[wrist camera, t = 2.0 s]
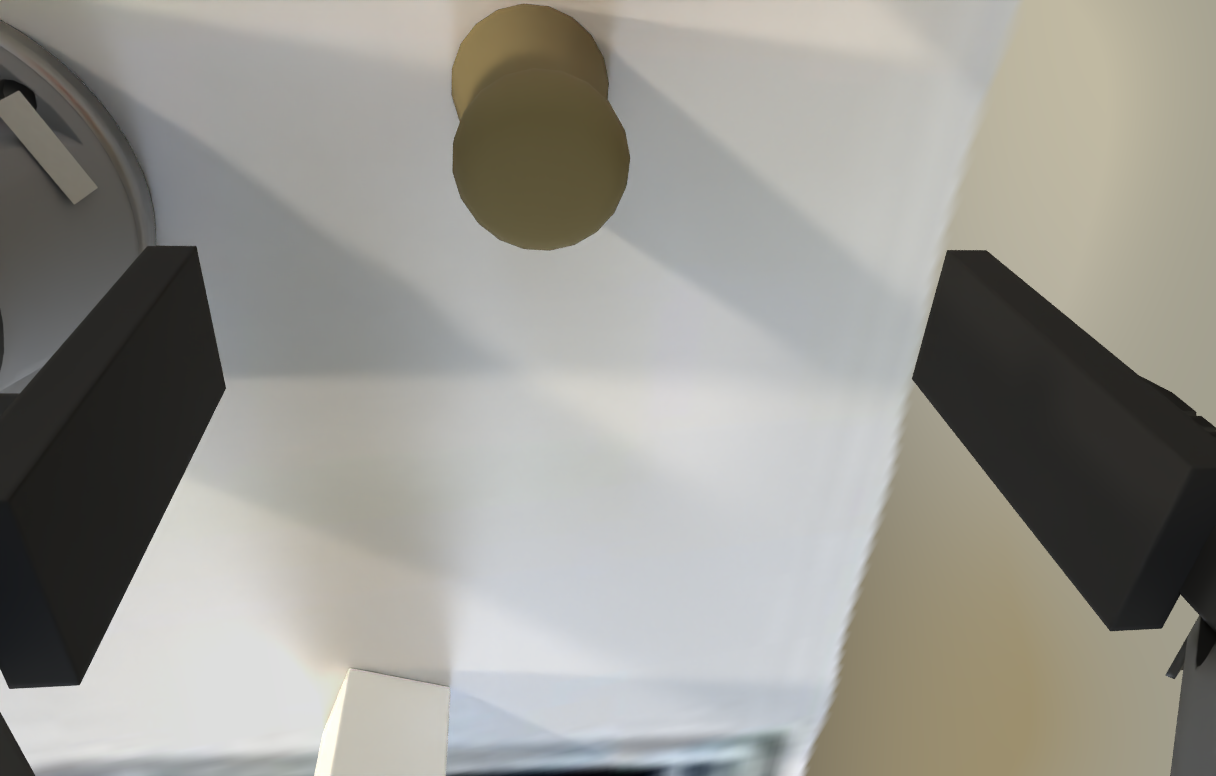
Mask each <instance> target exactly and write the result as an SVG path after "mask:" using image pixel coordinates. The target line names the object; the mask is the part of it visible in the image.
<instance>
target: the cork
mask: <svg viewBox="0 0 1216 776" xmlns="http://www.w3.org/2000/svg"><path fill="white" fill-rule="evenodd" d="M608 85H609V82H608V77H607V72H606V67H605V62H604V58H603V56H602V54H601V52H600V50H599V49H598V47H597V45H596V43H595V41H594V39H593V38H592V36H591V35H590V34H589V33H588V32H587V31H586V30H585V29H584V28H583V27H582V26H581V25H580V24H579V23H578V22H577V21H576V20H575V19H573V18H572V17H570V16H568V15H566V14H564V13H562V12H560V11H557V10H555V9H553V8H551V7H549V6H540V5H530V4H520V5H516V6H512V7H508V8H503V9H499V10H497V11H495V12H494V13H492V14H491V15H489V16H488V17H486V18H485V19H483V20H482V21H480V22H478V23H477V24H476V25H475V26H474V28H473V29H472V30H471V31H470V33H469V34H468V35H467V37H466V38H465V39H464V40H463V42H462V43H461V44H460V47H459V50H458V53H457V56H456V59H455V62H454V65H453V68H452V97H453V101H454V104H455V107H456V111H457V114H458V118H459V120H460V123H459V126H458V129H457V132H456V135H455V137H454V142H453V175H454V178H455V181H456V184H457V188H458V191H459V194H460V197H461V199H462V201H463V202H464V203H465V205H466V206H467V208H468V209H469V211H470V212H471V213H472V215H473V216H474V218H475V219H476V220H477V222H478V223H479V224H480V225H481V226H482V227H484V228H485V229H486V230H488V231H489V232H490V233H491V234H493V235H494V236H495V237H497V238H498V239H499V240H501V241H504V242H507V243H509V244H512V245H515V246H518V247H520V248H523V249H533V250H554V249H558V248H563V247H567V246H571V245H575V244H577V243H578V242H580V241H582V240H583V239H585V238H587V237H589V236H590V235H592V234H594V233H595V232H597V231H598V230H599V229H600V228H601V227H602V225H603V224H604V223H605V222H606V221H607V220H608V219H609V218H610V217H611V216H612V215H613V214H614V212H615V210H616V208H617V205H618V203H619V201H620V199H621V197H622V195H623V193H624V190H625V188H626V185H627V179H628V171H629V163H630V154H629V149H628V144H627V139H626V134H625V130H624V128H623V126H622V124H621V122H620V121H619V119H618V117H617V115H616V114H615V112H614V110H613V108H612V106H611V105H610V103H609V101H608V100H607V98H608Z"/></svg>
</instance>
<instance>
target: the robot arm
mask: <svg viewBox="0 0 1216 776" xmlns="http://www.w3.org/2000/svg"><path fill="white" fill-rule="evenodd" d="M912 380H913V381H914V382H915V383H916V385H917V386H918V387H919V388H920V390H921V391H922V392H923V393H924V395H925V396H926V397H927V399H928V400H929V401H930V402H931V404H932V405H933V406H934V408H935V409H936V410H937V411H938V413H939V414H940V415H941V416H942V418H943V419H944V420H945V422H946V423H947V424H948V425H949V427H950V428H951V429H952V430H953V432H954V433H955V434H956V436H957V437H958V438H959V439H960V441H961V442H962V443H963V444H964V446H965V447H966V448H967V449H968V451H969V452H970V453H971V455H972V456H973V457H974V458H975V459H976V461H977V462H978V464H979V465H980V466H981V467H982V469H983V470H984V471H985V472H986V474H987V475H988V476H989V478H990V479H991V480H992V481H993V483H994V484H995V485H996V486H997V488H998V489H999V490H1000V492H1001V493H1002V494H1003V495H1004V497H1005V498H1006V499H1007V500H1008V502H1009V503H1010V504H1011V505H1012V507H1013V508H1014V509H1015V511H1016V512H1017V513H1018V514H1019V516H1020V517H1021V518H1022V519H1023V521H1024V522H1025V523H1026V525H1027V526H1028V527H1029V528H1030V530H1031V531H1032V532H1033V534H1034V535H1035V536H1036V537H1037V539H1038V540H1039V541H1040V542H1041V544H1042V545H1043V546H1044V548H1045V549H1046V550H1047V551H1048V553H1049V554H1050V555H1051V556H1052V558H1053V559H1054V560H1055V561H1056V563H1057V564H1058V565H1059V567H1060V568H1061V569H1062V570H1063V572H1064V573H1065V574H1066V576H1067V577H1068V578H1069V579H1070V581H1071V582H1072V583H1073V584H1074V586H1075V587H1076V588H1077V590H1078V591H1079V592H1080V593H1081V594H1082V596H1083V597H1084V598H1085V600H1086V601H1087V602H1088V604H1089V605H1090V606H1091V607H1092V609H1093V610H1094V611H1095V612H1096V614H1097V615H1098V616H1099V617H1100V619H1101V620H1102V621H1103V623H1104V624H1105V625H1106V626H1107V628H1108V629H1109V630H1110V631H1120V630H1121V631H1123V630H1141V629H1161V628H1162V627H1163V625H1164V623H1165V621H1166V620H1167V618H1168V616H1169V614H1170V612H1171V611H1172V609H1173V607H1174V605H1175V603H1176V601H1177V600H1178V598H1179V596H1180V594H1181V595H1182V596H1183V597H1184V598H1185V600H1186V601H1187V602H1188V603H1189V604H1190V605H1191V606H1192V607H1193V608H1194V610H1195V611H1196V612H1198V614H1199V617H1198V619H1197V621H1196V622H1195V624H1194V626H1193V628H1192V629H1191V631H1190V633H1189V635H1188V636H1187V638H1186V640H1185V642H1184V643H1183V645H1182V647H1181V649H1180V651H1179V652H1178V654H1177V656H1176V658H1175V659H1174V661H1173V663H1172V665H1171V666H1170V668H1169V670H1168V672H1167V673H1166V676H1168V677H1170V678H1173V679H1175V678H1176V676H1177V675H1178V673H1179V672H1180V670H1183V677H1182V685H1181V694H1180V701H1179V711H1178V718H1177V726H1176V734H1175V742H1174V750H1173V759H1172V767H1171V775H1170V776H1216V427H1214V426H1213V425H1212V424H1211V423H1209V422H1208V421H1207V420H1206V419H1204V418H1203V417H1202V416H1196V412H1195V411H1194V410H1193V409H1192V408H1191V407H1189V406H1188V405H1187V404H1186V403H1184V402H1183V401H1182V400H1181V399H1180V398H1178V397H1177V396H1176V395H1175V394H1173V393H1172V392H1170V391H1168V390H1166V389H1164V388H1162V387H1160V386H1158V385H1156V384H1155V383H1153V382H1151V381H1149V380H1147V379H1145V378H1143V377H1141V376H1139V375H1137V374H1136V373H1135V372H1134V371H1133V370H1131V369H1130V368H1129V367H1128V366H1126V365H1125V364H1124V363H1123V362H1122V361H1121V360H1119V359H1118V358H1117V357H1115V356H1114V355H1113V354H1112V353H1111V352H1110V351H1108V350H1107V349H1106V348H1105V347H1103V346H1102V345H1101V344H1099V343H1098V342H1097V341H1096V340H1095V339H1094V338H1092V337H1091V336H1090V335H1089V334H1088V333H1086V332H1085V331H1084V330H1083V329H1081V328H1080V327H1079V326H1078V325H1077V324H1075V323H1074V322H1073V321H1072V320H1071V319H1069V318H1068V317H1067V316H1066V315H1064V314H1063V313H1062V312H1061V311H1060V310H1058V309H1057V308H1056V307H1055V306H1053V305H1052V304H1051V303H1050V302H1048V301H1047V300H1046V299H1045V298H1044V297H1042V296H1041V295H1040V294H1039V293H1038V292H1036V291H1035V290H1034V289H1033V288H1031V287H1030V286H1029V285H1028V284H1027V283H1025V282H1024V281H1023V280H1022V279H1021V278H1019V277H1018V276H1017V275H1015V274H1014V273H1013V272H1012V271H1011V270H1009V269H1008V268H1007V267H1006V266H1005V265H1003V264H1002V263H1001V262H1000V261H999V260H997V259H996V258H995V257H994V256H992V255H991V254H990V253H989V252H988V251H986V250H984V251H983V250H947V253H946V256H945V260H944V264H943V267H942V271H941V275H940V278H939V282H938V286H937V289H936V293H935V297H934V300H933V304H932V307H931V311H930V315H929V318H928V322H927V326H926V329H925V333H924V337H923V340H922V344H921V348H920V351H919V355H918V359H917V362H916V366H915V370H914V373H913V377H912ZM225 389H226V386H225V382H224V377H223V372H222V367H221V362H220V358H219V353H218V348H217V343H216V338H215V334H214V329H213V324H212V319H211V314H210V310H209V305H208V300H207V295H206V290H205V285H204V281H203V276H202V271H201V266H200V261H199V257H198V252H197V247H196V246H156V228H155V219H154V211H153V207H152V202H151V197H150V193H149V190H148V187H147V184H146V181H145V178H144V175H143V173H142V170H141V168H140V166H139V163H138V161H137V159H136V156H135V155H134V153H133V151H132V149H131V147H130V145H129V143H128V142H127V140H126V138H125V136H124V135H123V133H122V132H121V130H120V129H119V127H118V126H117V124H116V123H115V121H114V119H113V118H112V117H111V115H110V114H109V113H108V112H107V110H106V109H105V108H104V106H103V105H102V104H101V103H100V101H99V100H98V99H97V98H96V97H95V96H94V94H93V93H92V92H91V91H90V90H89V89H88V88H87V87H86V86H85V85H84V83H83V82H82V81H81V80H80V79H79V78H77V77H76V76H75V75H74V74H73V73H72V72H71V71H70V70H69V69H68V68H67V67H66V66H65V65H64V64H63V63H61V62H60V61H59V60H58V59H56V58H55V57H54V56H53V55H52V54H50V53H49V52H48V51H47V50H45V49H44V48H43V47H41V46H40V45H39V44H37V43H36V42H34V41H33V40H32V39H30V38H29V37H27V36H26V35H24V34H23V33H21V32H20V31H18V30H16V29H15V28H13V27H11V26H10V25H8V24H6V23H5V22H3V21H1V20H0V669H1V671H2V674H3V676H4V678H5V680H6V682H7V685H8V687H9V689H15V688H34V687H53V686H72V685H80V683H81V681H82V679H83V677H84V675H85V673H86V671H87V669H88V667H89V665H90V663H91V661H92V659H93V657H94V655H95V653H96V651H97V649H98V647H99V645H100V643H101V641H102V639H103V637H104V635H105V633H106V631H107V629H108V626H109V624H110V622H111V620H112V618H113V616H114V614H115V612H116V610H117V608H118V606H119V604H120V602H121V600H122V598H123V596H124V594H125V592H126V590H127V588H128V586H129V584H130V582H131V580H132V578H133V576H134V574H135V572H136V570H137V568H138V566H139V564H140V562H141V560H142V557H143V555H144V553H145V551H146V549H147V547H148V545H149V543H150V541H151V539H152V537H153V535H154V533H155V531H156V529H157V527H158V525H159V523H160V521H161V519H162V517H163V515H164V513H165V511H166V509H167V507H168V505H169V503H170V501H171V499H172V497H173V495H174V493H175V491H176V488H177V486H178V484H179V482H180V480H181V478H182V476H183V474H184V472H185V470H186V468H187V466H188V464H189V462H190V460H191V458H192V456H193V454H194V452H195V450H196V448H197V446H198V444H199V442H200V440H201V438H202V436H203V434H204V432H205V430H206V428H207V426H208V424H209V422H210V419H211V417H212V415H213V413H214V411H215V409H216V407H217V405H218V403H219V401H220V399H221V397H222V395H223V393H224V391H225ZM0 776H35V774H34V772H33V771H32V769H31V767H30V765H29V763H28V762H27V760H26V758H25V756H24V754H23V753H22V751H21V749H20V747H19V745H18V743H17V742H16V740H15V738H14V736H13V734H12V733H11V731H10V729H9V727H8V725H7V724H6V722H5V720H4V718H3V716H2V715H1V713H0Z"/></svg>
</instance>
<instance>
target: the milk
mask: <svg viewBox="0 0 1216 776" xmlns="http://www.w3.org/2000/svg"><path fill="white" fill-rule="evenodd" d="M449 708H450V687H446V686H441V685H436V684H431V683H426V682H420V681H415V680H410V679H405V678H400V677H394V676H389V675H384V674H379V673H374V672H368V671H363V670H358V669H353V668H350V669H349V670H348V672H347V675H346V677H345V680H344V682H343V685H342V687H341V689H340V692H339V694H338V697H337V699H336V702H335V704H334V707H333V709H332V712H331V714H330V717H329V719H328V722H327V724H326V727H325V729H324V732H323V735H322V740H321V745H320V750H319V755H318V760H317V765H316V770H315V775H314V776H446V763H447V744H448V726H449Z"/></svg>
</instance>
